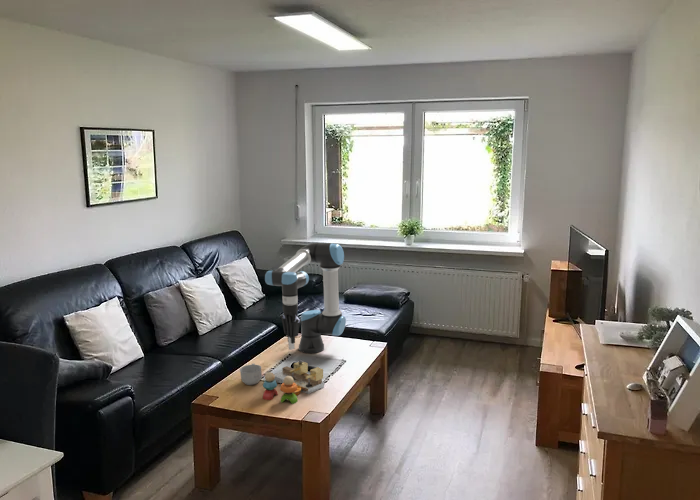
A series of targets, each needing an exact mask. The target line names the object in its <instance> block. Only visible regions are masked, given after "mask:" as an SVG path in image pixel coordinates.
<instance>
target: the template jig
mask: <svg viewBox="0 0 700 500" xmlns="http://www.w3.org/2000/svg"><path fill="white" fill-rule="evenodd" d="M293 369H294V367H293V368H292V367H290V366H284V367H282V370H281V371H279V372H277V373H273V374H274V375H275V379H274V380H275V381H277V382H276V383H280V384H281V383H284V378H285V377H286V376H291V377H292V373H289V371H291V370H293ZM309 372H310V373H308V372H307V373H304V374H302V375H299V374H297V373H294V383H296V385H297V386H299V387H301V392H302V393H305V394H307V395H310V394H312V393H313V392H316V391H318V390H320V389H323V388H325V382H324V381H323V379H324V368H322V367H321V368H320V367H318V366H317V367H314V368H312V369H310V370H309Z"/></svg>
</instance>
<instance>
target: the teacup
mask: <svg viewBox="0 0 700 500" xmlns="http://www.w3.org/2000/svg"><path fill="white" fill-rule="evenodd" d="M239 373H240V379H241V381H242V383H244V384H245V385H247V386H253V385H254V386H255V385H257V384H258V383H259V382H260V381H261V380H262V377H263V375H262V365H260V364H256V363H254V362H253V363H251V364H248V365H244V366H241V367H240V368H239Z"/></svg>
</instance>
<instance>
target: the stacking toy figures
mask: <svg viewBox="0 0 700 500" xmlns="http://www.w3.org/2000/svg"><path fill="white" fill-rule="evenodd" d="M274 374H275V373H274V372H272V371H269V372H266V374H265V375H264V379H265V380H264V382H263V384H262V387H263V389H265V390H264V392H263V395H262V400H266V401H273V399H274V396H278V395H279V394H278V391H277V389H276V388H277V387H278V382H276V381H275V380H274V379H275V375H274ZM279 389H280V391H281V392H283V395H282V396H281V398H280V403H284V402H285V400H287V402H290V403H291V404H292V405H293V404H297V402H298V400H299V399H298V395H301V392H302V391H301V387H299V386H297V385H296V383H294V379H293V378H292V377H291V376H286V377H285V378H284V383H282V384H281V383H280V388H279Z"/></svg>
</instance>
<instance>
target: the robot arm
mask: <svg viewBox="0 0 700 500" xmlns="http://www.w3.org/2000/svg"><path fill="white" fill-rule="evenodd" d="M344 259H345V253H344V249H343V247H342V246H341V245H340V244H337V243H331V242H330V243H329V242H328V243H327V242H325V243H324V242H312V243H309V244H306V245H304V246H302V247H300V248H299V249H298V250H297V251H296V253H295V254H294V255H293V256H292V257H291V258H289V259H288V260H286V261H285V262H284V263H283V264H281V265H280V266H279V267H278V268H276V269H275V270H273V269H272V270H268V271H267V270H266V272H265V274H264V281H265V284H266V285H269V286H273V287H274V286H276V287H281V291H282V294H281V295H282V296H281V297H282V312H283V314H281V315H280V316H279V317H280V319H281V322H282V329H283V332H284V333H283V334H284V335H286V336H287V343H288V350H290V351H293V350H294V349H295V347H296V346H295V344H296V337H298V336H299V331H300V332H301V333H300V335H301V337H300V341H299V344H298V351H299V352H300V353H305V354H317V353H321V352H322V351H323V352H324V350H325V343H324V341H323V338H322V335H329V336H341V335H342V334H343V332H344V330H345V328H346V322H347V319H346V316H344V315H343V314H342V313H343V311H342V310H341V309H340V298H339V293H340V291H339V269H340V268H341V265H343V264H344V262H345V261H344ZM309 264H319V266H320V269H321V270H322V281H323V307H324V309H323V311H321V310H319V309H312V310H306V311H304V312H302V313H301V314H300V318H299V317H298V310H299V307H298V306H299V304H298V301H299V299H298V298H299V297H298V289H300V288H302V287H305V286H306V285H308V283H309V281H310V276H309V275H308V273H307V272H306V271H303V270H301V271H299V270H300V269H302V268H303V267H304V266H307V265H309ZM300 328H301V330H300Z"/></svg>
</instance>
